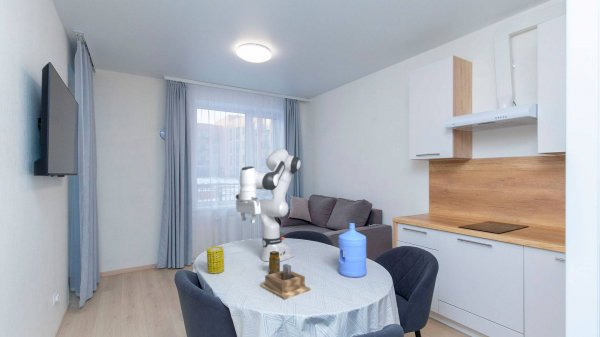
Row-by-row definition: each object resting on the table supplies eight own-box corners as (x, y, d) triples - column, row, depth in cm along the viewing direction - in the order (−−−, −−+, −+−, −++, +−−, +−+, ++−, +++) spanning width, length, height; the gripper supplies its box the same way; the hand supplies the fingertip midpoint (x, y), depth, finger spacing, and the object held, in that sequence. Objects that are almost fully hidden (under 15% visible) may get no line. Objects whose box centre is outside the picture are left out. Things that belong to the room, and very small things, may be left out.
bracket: (286, 283, 147) (286, 263, 147) (291, 286, 144) (291, 265, 144) (278, 286, 144) (278, 266, 144) (283, 288, 141) (283, 268, 141)
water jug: (369, 270, 168) (368, 222, 169) (363, 279, 154) (362, 227, 155) (343, 267, 175) (342, 220, 175) (335, 275, 161) (334, 225, 161)
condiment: (278, 270, 169) (277, 250, 170) (283, 275, 162) (283, 253, 162) (266, 272, 166) (266, 251, 166) (271, 277, 159) (271, 255, 159)
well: (285, 278, 156) (285, 267, 156) (310, 290, 141) (310, 277, 141) (260, 286, 146) (260, 274, 146) (284, 299, 131) (284, 286, 131)
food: (226, 271, 172) (218, 278, 162) (208, 266, 174) (199, 272, 165) (231, 247, 171) (223, 253, 161) (213, 242, 173) (204, 247, 163)
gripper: (263, 197, 152) (263, 223, 152) (243, 194, 168) (244, 218, 168) (253, 198, 148) (253, 225, 148) (233, 195, 164) (234, 220, 164)
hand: (248, 221), depth 158 cm, fingers open, 8 cm apart
